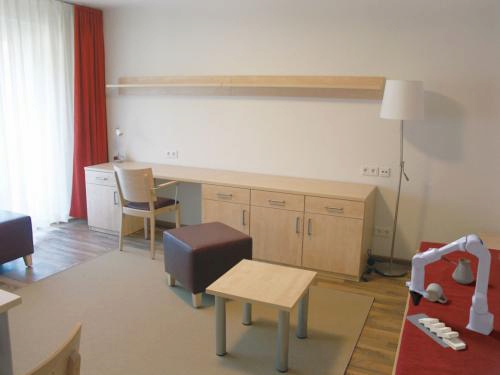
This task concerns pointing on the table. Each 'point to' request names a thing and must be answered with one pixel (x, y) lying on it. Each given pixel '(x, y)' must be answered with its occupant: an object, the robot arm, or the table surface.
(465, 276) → the coffee pot
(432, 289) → the ceramic mug
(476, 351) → the table surface
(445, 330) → the domino
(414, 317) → the mat
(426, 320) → the domino
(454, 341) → the domino
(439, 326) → the domino
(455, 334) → the domino
